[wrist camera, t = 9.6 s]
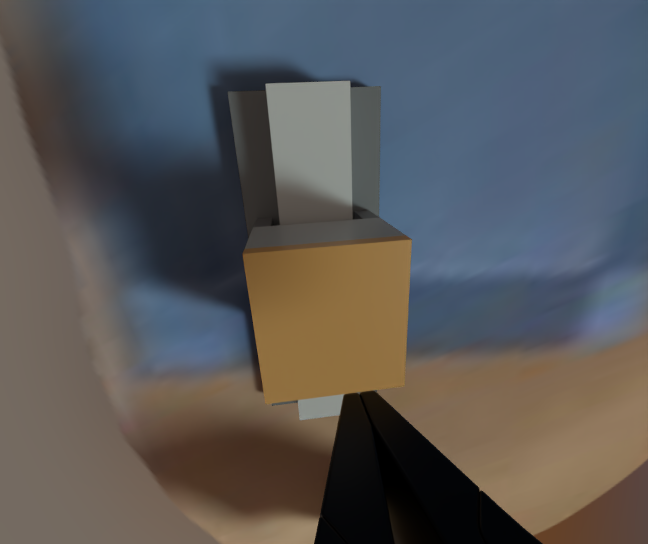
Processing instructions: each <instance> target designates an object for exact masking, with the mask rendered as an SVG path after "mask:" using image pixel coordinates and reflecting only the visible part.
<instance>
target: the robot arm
mask: <svg viewBox="0 0 648 544" xmlns="http://www.w3.org/2000/svg"><path fill="white" fill-rule="evenodd" d="M314 544H542V543H541V542H540V541H539V540H538V539H536V538H535V537H534V536H533V535H532V534H530V533H529V532H528V531H527V530H525V529H524V528H523V527H522V526H521V525H520V524H519V523H517V522H516V521H515V520H514V519H513V518H512V517H511V516H510V515H508V514H507V513H506V512H505V511H504V510H503V509H502V508H501V507H499V506H498V505H497V504H496V503H495V502H494V501H493V500H492V499H491V498H490V497H489V496H488V495H486V494H485V493H484V492H483V491H480V492H479V487H478V486H477V485H476V484H474V483H473V482H472V481H471V480H470V479H469V478H468V477H467V476H466V475H465V474H464V473H463V472H462V471H461V470H459V469H458V468H457V467H456V466H455V465H454V464H453V463H452V462H451V461H450V460H449V459H448V458H447V457H445V456H444V455H443V454H442V453H441V452H440V451H439V450H438V449H437V448H436V447H435V446H434V445H433V444H431V443H430V442H429V441H428V440H427V439H426V438H425V437H424V436H423V435H422V434H421V433H420V432H419V431H418V430H416V429H415V428H414V427H413V426H412V425H411V424H410V423H409V422H408V421H407V420H406V419H405V418H404V417H402V416H401V415H400V414H399V413H398V412H397V411H396V410H395V409H394V408H393V407H392V406H391V405H390V404H388V403H387V402H386V401H385V400H384V399H383V398H382V397H381V396H380V395H379V394H378V393H377V392H375V391H373V390H371V391H363V392H360V394H359V393H357V392H356V393H348V394H344V396H343V400H342V406H341V411H340V416H339V421H338V426H337V431H336V436H335V441H334V446H333V451H332V457H331V462H330V467H329V472H328V477H327V482H326V487H325V492H324V497H323V503H322V508H321V513H320V518H319V522H318V527H317V532H316V537H315V542H314Z"/></svg>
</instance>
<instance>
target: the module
mask: <svg viewBox="0 0 648 544" xmlns="http://www.w3.org/2000/svg"><path fill="white" fill-rule="evenodd" d="M411 244H412V239H410V238H409V237H407V236H406V235H404V234H403V233H402V232H400V231H399V230H397V229H396V228H394V227H393V226H391V225H390V224H388V223H387V222H385V221H384V220H383V219H381V218H380V217H378V216H377V215H375V214H374V213H372V212H371V211H369V210H365V211H354V220H342V221H329V222H316V223H303V224H290V225H278V226H273V220H272V218H259V219H256V221H255V224H254V226H253V229H252V231H251V234H250V236H249V239H248V241H247V244H246V246H245V249H244V251H243V261H244V267H245V274H246V280H247V287H248V293H249V300H250V306H251V313H252V319H253V326H254V332H255V339H256V345H257V352H258V358H259V365H260V371H261V378H262V384H263V391H264V397H265V404H272V403H279V402H287V401H295V400H302V399H310V398H318V397H326V396H333V395H341V394H348V393H356V392H363V391H371V390H379V389H387V388H395V387H402V386H404V384H405V364H406V344H407V324H408V304H409V284H410V264H411Z"/></svg>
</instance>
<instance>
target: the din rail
mask: <svg viewBox="0 0 648 544" xmlns="http://www.w3.org/2000/svg"><path fill="white" fill-rule="evenodd" d="M228 98H229V105H230V112H231V119H232V126H233V134H234V141H235V148H236V155H237V162H238V169H239V176H240V183H241V190H242V197H243V204H244V211H245V218H246V226H247V233H248V239H249V236H250V234H251V231H252V229H253V226H254V224H255V221H256V219H259V218H272V220H273V226H278V225H290V224H303V223H316V222H329V221H342V220H354V211H365V210H369V211H371V212H372V213H374V214H375V215H377V216H378V217H379V181H380V106H381V86H374V87H350V81H330V82H300V83H270V84H266V90H261V91H233V92H228ZM373 391H375V392H377V390H373ZM357 393H359V394H360V392H357ZM343 396H344V394H341V395H333V396H326V397H318V398H310V399H302V400H295V401H287V402H279V403H272V406H273V405H281V404H289V403H297V402H298V407H299V417H300V420H306V419H313V418H321V417H328V416H336V415H340V411H341V406H342V400H343Z"/></svg>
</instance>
